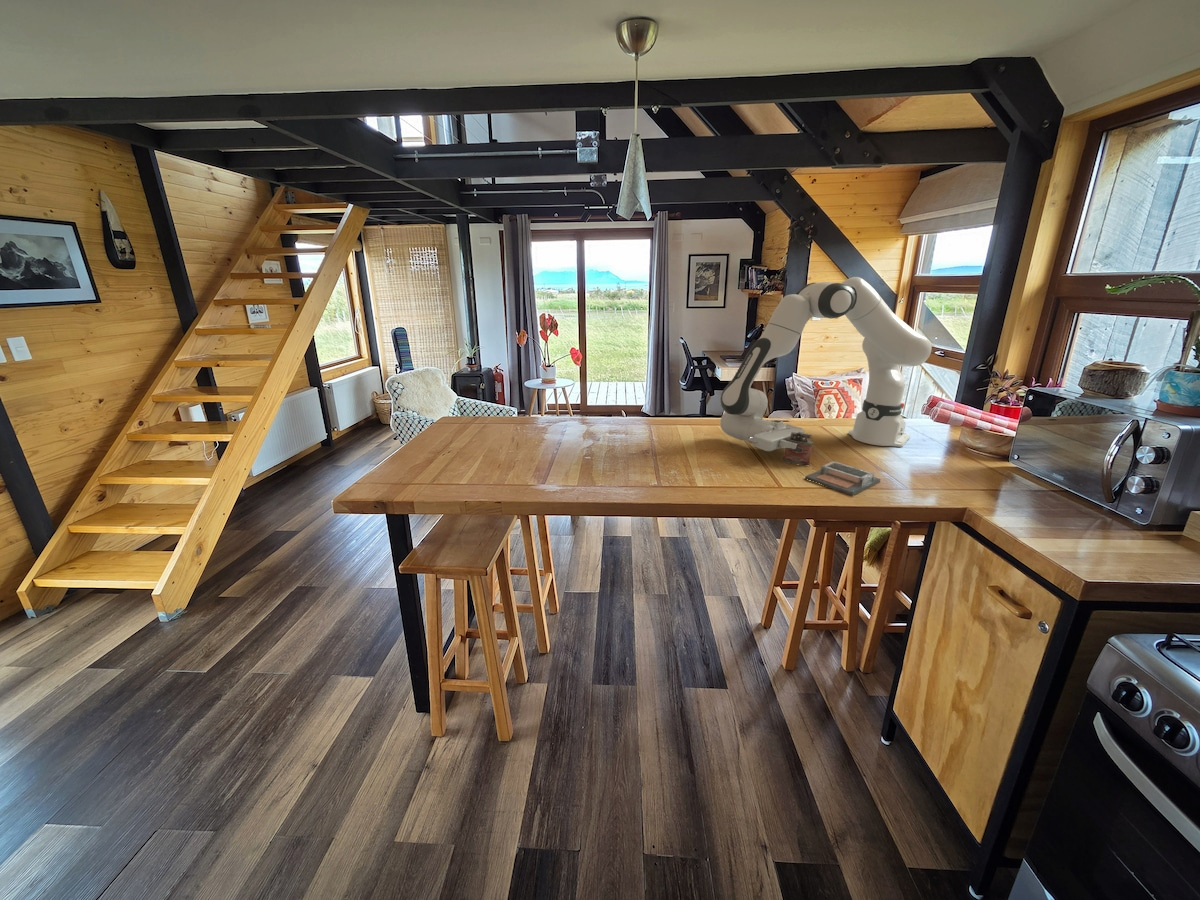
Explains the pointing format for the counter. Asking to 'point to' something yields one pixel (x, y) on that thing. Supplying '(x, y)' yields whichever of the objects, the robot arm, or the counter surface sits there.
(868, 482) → the plate
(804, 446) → the lighter
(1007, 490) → the counter surface
